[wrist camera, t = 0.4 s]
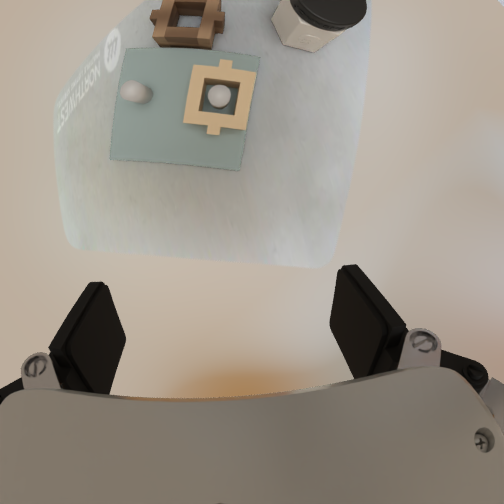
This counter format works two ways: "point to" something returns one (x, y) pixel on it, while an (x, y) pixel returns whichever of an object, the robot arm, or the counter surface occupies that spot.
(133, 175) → the counter surface
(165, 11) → the ribbed wooden holder
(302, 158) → the counter surface
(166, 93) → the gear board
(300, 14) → the jar
